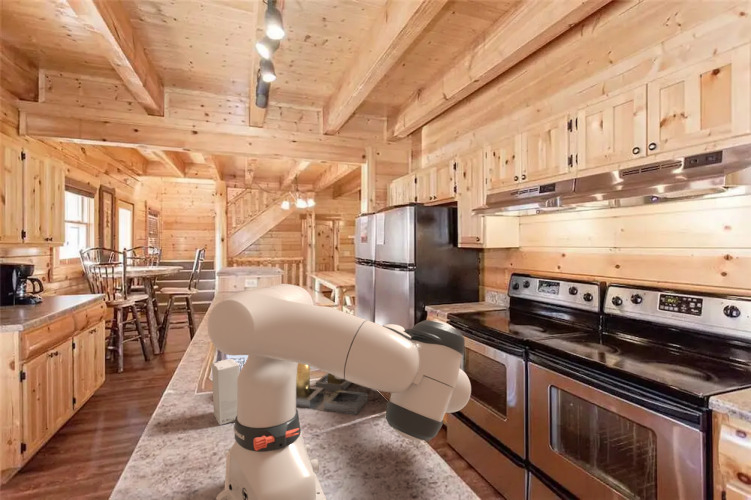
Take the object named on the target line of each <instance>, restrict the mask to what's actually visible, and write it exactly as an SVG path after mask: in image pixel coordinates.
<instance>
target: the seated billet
mask: <svg viewBox="0 0 751 500" xmlns="http://www.w3.org/2000/svg"><path fill="white" fill-rule="evenodd" d="M310 370H311V366H308V365H305V364H300V363H298V368H297V377H296V396H298V397H306V398H307V397H309V396H310V386H311V381H310V379H311V375H310V374H311V371H310Z"/></svg>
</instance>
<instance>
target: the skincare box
mask: <svg viewBox="0 0 751 500" xmlns="http://www.w3.org/2000/svg"><path fill="white" fill-rule="evenodd" d="M239 373H240V364H239V363H238V362H237V361H235V359H233V358H229V359H223V360H219V361H214V362H211V374H212V376H211V377H212V378H211V379H212V401H213V402H212V403H213V405H212V406H213V416H214V417H215V419H216V422H217V423H218V425H219V426H223V425H225V424H229V423H235V418H236V416H237V379H238V375H239Z"/></svg>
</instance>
